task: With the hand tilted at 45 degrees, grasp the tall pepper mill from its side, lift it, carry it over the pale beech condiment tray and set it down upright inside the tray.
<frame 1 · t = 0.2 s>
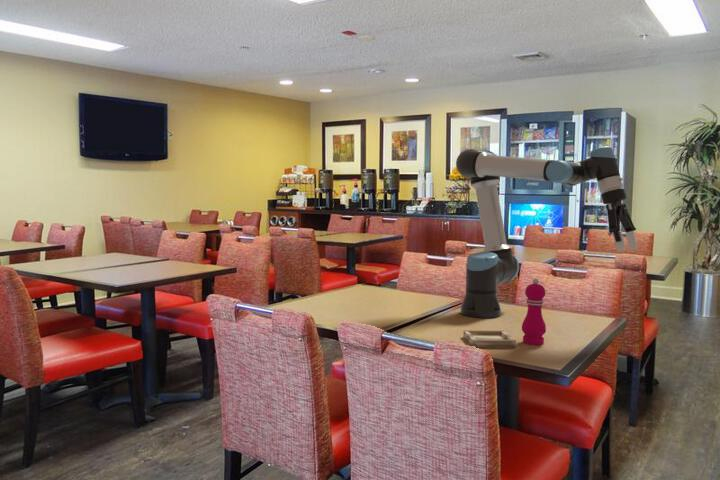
hand: (628, 250, 194), 27 cm above the table, tool tilted 20°, fingers open, 13 cm apart
tray: (488, 342, 177), on the table
pepper mill: (533, 343, 177), on the table
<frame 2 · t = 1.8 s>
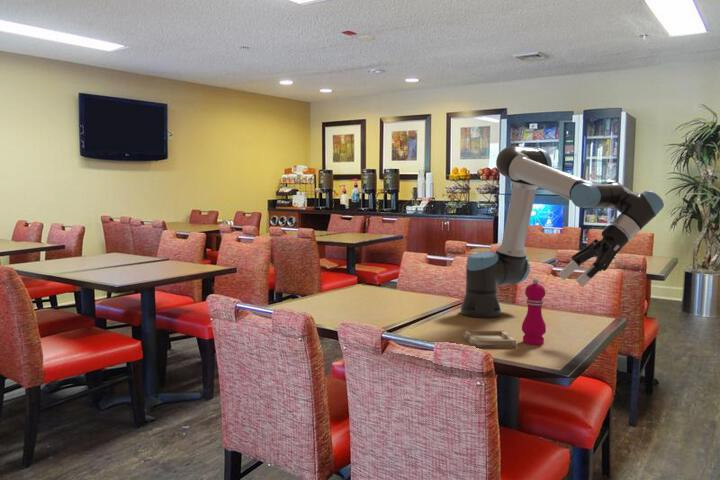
hand: (569, 280, 176), 20 cm above the table, tool tilted 45°, fingers open, 13 cm apart
nothing on the table moved.
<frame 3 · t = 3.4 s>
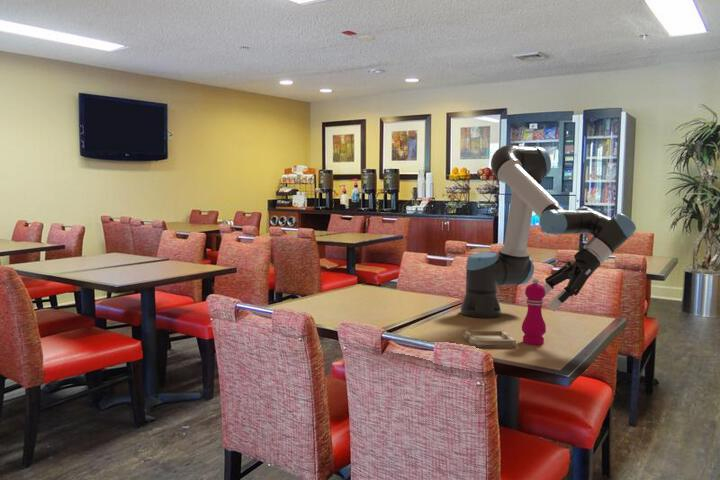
hand: (542, 304, 175), 12 cm above the table, tool tilted 45°, fingers open, 13 cm apart
nothing on the table moved.
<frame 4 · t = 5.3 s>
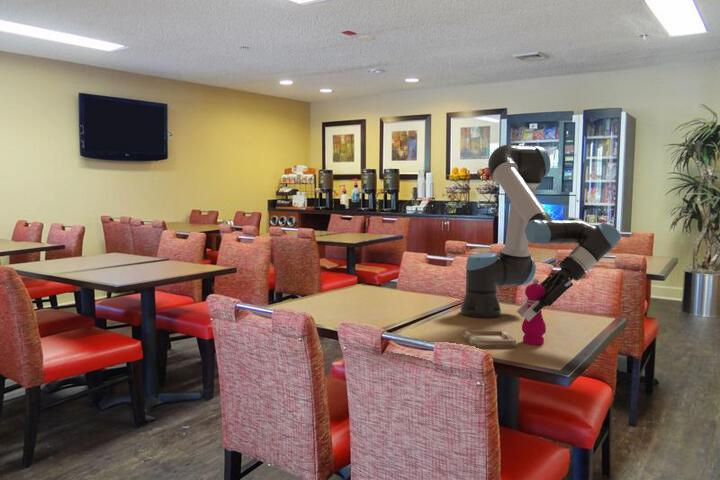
hand: (522, 316, 176), 8 cm above the table, tool tilted 45°, fingers closed on pepper mill, 5 cm apart
pepper mill: (533, 343, 177), on the table, touching gripper
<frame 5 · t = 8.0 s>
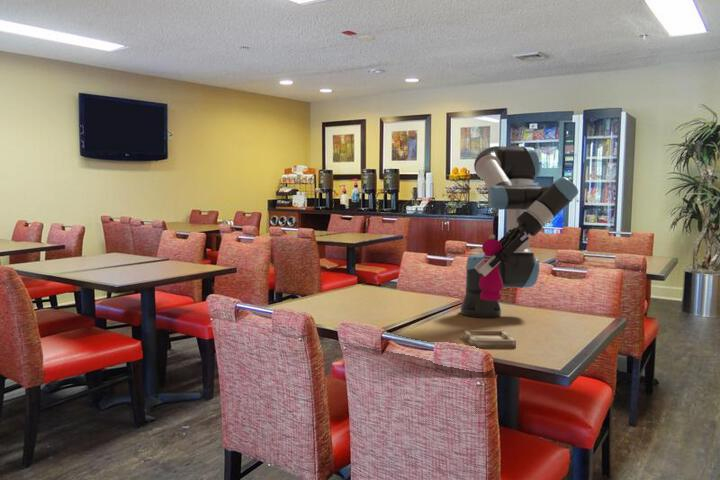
hand: (479, 272, 175), 22 cm above the table, tool tilted 45°, fingers closed on pepper mill, 5 cm apart
pepper mill: (490, 299, 176), point 13 cm above the table, touching gripper
when the fingers open (9 cm above the table, at t = 11.2 s): pepper mill stays where it is, resting on tray.
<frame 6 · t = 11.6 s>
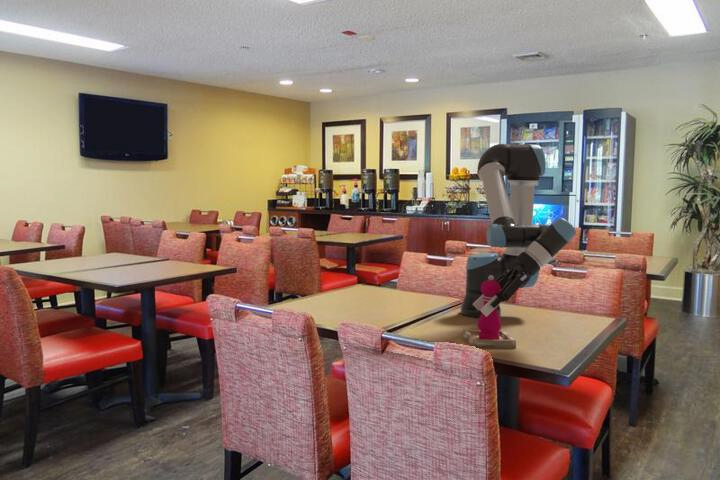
hand: (479, 310, 176), 10 cm above the table, tool tilted 45°, fingers open, 8 cm apart
pepper mill: (489, 339, 177), point 1 cm above the table, touching tray
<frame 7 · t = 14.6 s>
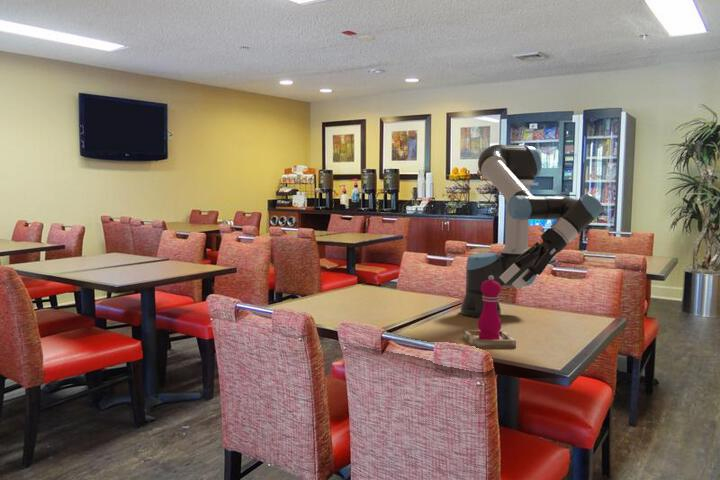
hand: (508, 284, 175), 18 cm above the table, tool tilted 45°, fingers open, 13 cm apart
nothing on the table moved.
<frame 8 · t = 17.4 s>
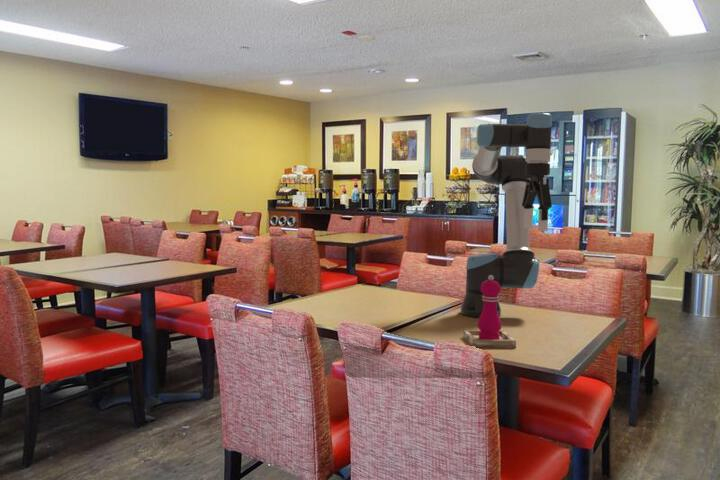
hand: (535, 229, 183), 35 cm above the table, tool pointing down, fingers open, 13 cm apart
nothing on the table moved.
at the end: pepper mill inside the target area on the tray (0.1 cm from its centre), point 0.8 cm above the tray's base; pepper mill tilted 0°; the gripper is holding nothing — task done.
